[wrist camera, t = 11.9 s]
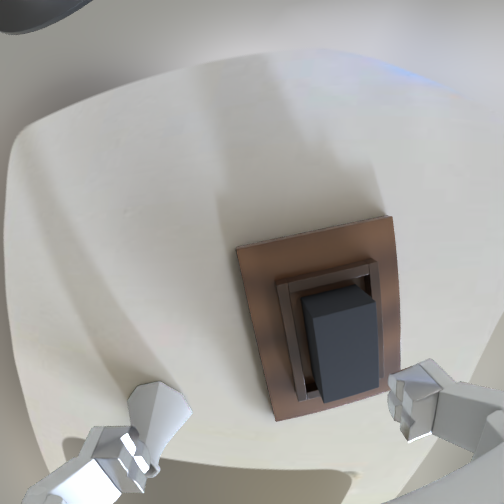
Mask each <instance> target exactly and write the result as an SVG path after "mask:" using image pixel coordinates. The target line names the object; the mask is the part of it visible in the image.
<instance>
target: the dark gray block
mask: <svg viewBox="0 0 504 504" xmlns="http://www.w3.org/2000/svg"><path fill="white" fill-rule="evenodd" d="M300 299H301V305H302V311H303V317H304V323H305V330H306V336H307V342H308V349H309V355H310V362H311V369H312V375H313V378H314V380H315V383H316V385H317V388H318V390H319V393H320V395H321V398H322V400H323V403H328V402H332V401H336V400H339V399H343V398H346V397H350V396H353V395H356V394H360V393H363V392H366V391H369V390H372V389H375V388H378V387H379V348H378V326H377V309H376V301H375V300H374V299H372V298H371V297H370V296H369V295H368V294H367V293H365V292H364V291H363V290H362V289H361V288H360V287H358V286H357V285H356V284H353V285H349V286H345V287H341V288H337V289H333V290H329V291H325V292H321V293H317V294H312V295H308V296H304V297H301V298H300Z"/></svg>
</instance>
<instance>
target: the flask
mask: <svg viewBox="0 0 504 504" xmlns="http://www.w3.org/2000/svg"><path fill="white" fill-rule="evenodd" d="M127 402H128V410H129V416H130V422H131V426H134V427H136V429H137V430H138V432H139V434H140V435H139V438H138V439H139V440H141V441H143V442H144V443H145V444H146V445H147V447H148V449H149V452H150V459H151V463H150V468H149V469H148V470H147V471H146V472H145V473H144V474H145V476H146V477H147V478H148V477H155V475H157V473H159V472H160V467H159V466H158V462H159V458H160V455H161V453H162V452H163V450H164V448H165V446H166V444H167V443H168V442H169V441H170V439H171V438H172V437H173V436H174V434H175V433H176V432H177V431H178V430H179V429H180V427H181V426H182V425H183V424H184V423H185V422H186V420H187V419H188V418H189V417H190V416H191V414H192V413H193V412H192V411H191V409H190V407H189V405H188V403H187V402H186V400H185V398H184V396H183V394H181V393H179V392H178V391H176V390H174V389H172V388H171V387H169V386H167V385H165V384H164V383H162V382H160V381H158V382H154V383H149V384H144V385H140V386H137V387H136V389H135V390H134V392H133V393H132V395H131V396H130V398H129V399H128V401H127Z"/></svg>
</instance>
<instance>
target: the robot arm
mask: <svg viewBox="0 0 504 504" xmlns="http://www.w3.org/2000/svg"><path fill="white" fill-rule="evenodd" d="M388 386H389V387H390V388H391V390H390V392H389V394H388V407H389V411H390V413H391V416H392V417H393V419H394V421H397V422H399V423H400V430H401V432H402V433H403V435H404V436H405V438H406V440H407V441H408V442H411V441H413V440H416V439H418V438H421V437H423V436H425V435H428V434H430V433H432V434H433V435H435V436H437V437H439V438H442V439H444V440H446V441H448V442H450V443H453V444H455V445H457V446H459V447H461V448H464V449H466V450H468V451H470V452H473V453H474V455H473V457H472V460H471V462H470V463H468V464H466V465H464V466H463V467H461V468H459V469H457V470H455V471H453V472H452V473H450V474H448V475H446V476H444V477H442V478H440V479H438V480H436V481H434V482H432V483H430V484H427V485H426V486H423V487H421V488H419V489H416V490H414V491H412V492H410V493H407V494H405V495H402V496H400V497H397V498H395V499H392V500H390V501H387V502H385V503H382V504H504V391H503V390H498V389H493V388H489V387H484V386H479V385H475V384H470V383H466V382H462V381H460V382H458V383H457V382H456V381H455V380H454V379H453V378H451V377H450V376H449V375H448V374H447V373H446V372H445V371H444V370H443V369H442V368H441V367H440V366H439V365H438V364H437V363H436V362H435V361H434V360H433V359H430V358H429V359H427V360H425V361H422V362H420V363H417V364H416V365H413V366H411V367H408V368H405V369H403V370H400V371H397V372H395V373H392V374H389V377H388ZM139 435H140V434H139V432H138V430H137V429H136V427H134V426H94V427H93V428H91V430H90V432H89V434H88V436H87V438H86V440H85V443H84V445H83V447H82V449H81V451H80V453H79V455H78V457H73V458H72V459H71V460H69V461H68V462H66V463H65V464H64V465H62V466H61V467H59V468H58V469H56V470H55V471H53V472H52V473H51V474H49V475H48V476H46V477H45V478H43V479H42V480H40V481H39V482H37V483H36V484H34V485H33V486H31V487H30V488H29V489H28V491H27V493H26V494H25V496H24V498H23V501H22V502H21V504H112V503H113V502H114V501H115V500H116V499H117V498H118V497H119V496H120V495H121V493H144V490H145V486H146V481H147V477H146V476H145V474H144V473H145V472H146V471H147V470H148V469H149V468H150V463H151V459H150V452H149V449H148V447H147V445H146V444H145V443H144V442H143V441H141V440H139V439H138V438H139Z"/></svg>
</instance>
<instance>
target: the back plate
mask: <svg viewBox="0 0 504 504" xmlns="http://www.w3.org/2000/svg"><path fill="white" fill-rule="evenodd" d="M236 252H237V256H238V261H239V265H240V270H241V274H242V279H243V283H244V288H245V292H246V297H247V301H248V305H249V310H250V314H251V319H252V323H253V327H254V332H255V336H256V340H257V345H258V349H259V353H260V357H261V362H262V366H263V370H264V375H265V379H266V383H267V387H268V391H269V396H270V400H271V404H272V408H273V412H274V416H275V421H276V422H277V421H282V420H287V419H291V418H296V417H300V416H304V415H308V414H313V413H317V412H320V411H324V410H328V409H332V408H335V407H339V406H342V405H346V404H349V403H353V402H356V401H359V400H362V399H366V398H369V397H372V396H375V395H378V394H381V393H384V392H387V391H389V390H391V388H390V387H389V386H388V377H389V374H392V373H395V372H397V371H400V365H401V325H400V297H399V280H398V266H397V254H396V244H395V235H394V226H393V218H392V216H387V215H386V216H381V217H376V218H372V219H367V220H362V221H357V222H352V223H347V224H342V225H338V226H333V227H328V228H323V229H318V230H314V231H309V232H304V233H299V234H295V235H290V236H285V237H280V238H276V239H271V240H266V241H261V242H257V243H252V244H247V245H243V246H238V247H236ZM353 284H356V285H357V286H358V287H360V288H361V289H362V290H363V291H364V292H365V293H367V294H368V295H369V296H370V297H371V298H372V299H374V300H375V301H376V309H377V326H378V348H379V387H378V388H375V389H372V390H369V391H366V392H363V393H360V394H356V395H353V396H350V397H346V398H343V399H339V400H336V401H332V402H328V403H323V400H322V398H321V395H320V393H319V390H318V388H317V385H316V383H315V380H314V378H313V375H312V369H311V362H310V355H309V349H308V342H307V336H306V330H305V323H304V317H303V311H302V305H301V299H300V298H301V297H304V296H308V295H312V294H317V293H321V292H325V291H329V290H333V289H337V288H341V287H345V286H349V285H353Z"/></svg>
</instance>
